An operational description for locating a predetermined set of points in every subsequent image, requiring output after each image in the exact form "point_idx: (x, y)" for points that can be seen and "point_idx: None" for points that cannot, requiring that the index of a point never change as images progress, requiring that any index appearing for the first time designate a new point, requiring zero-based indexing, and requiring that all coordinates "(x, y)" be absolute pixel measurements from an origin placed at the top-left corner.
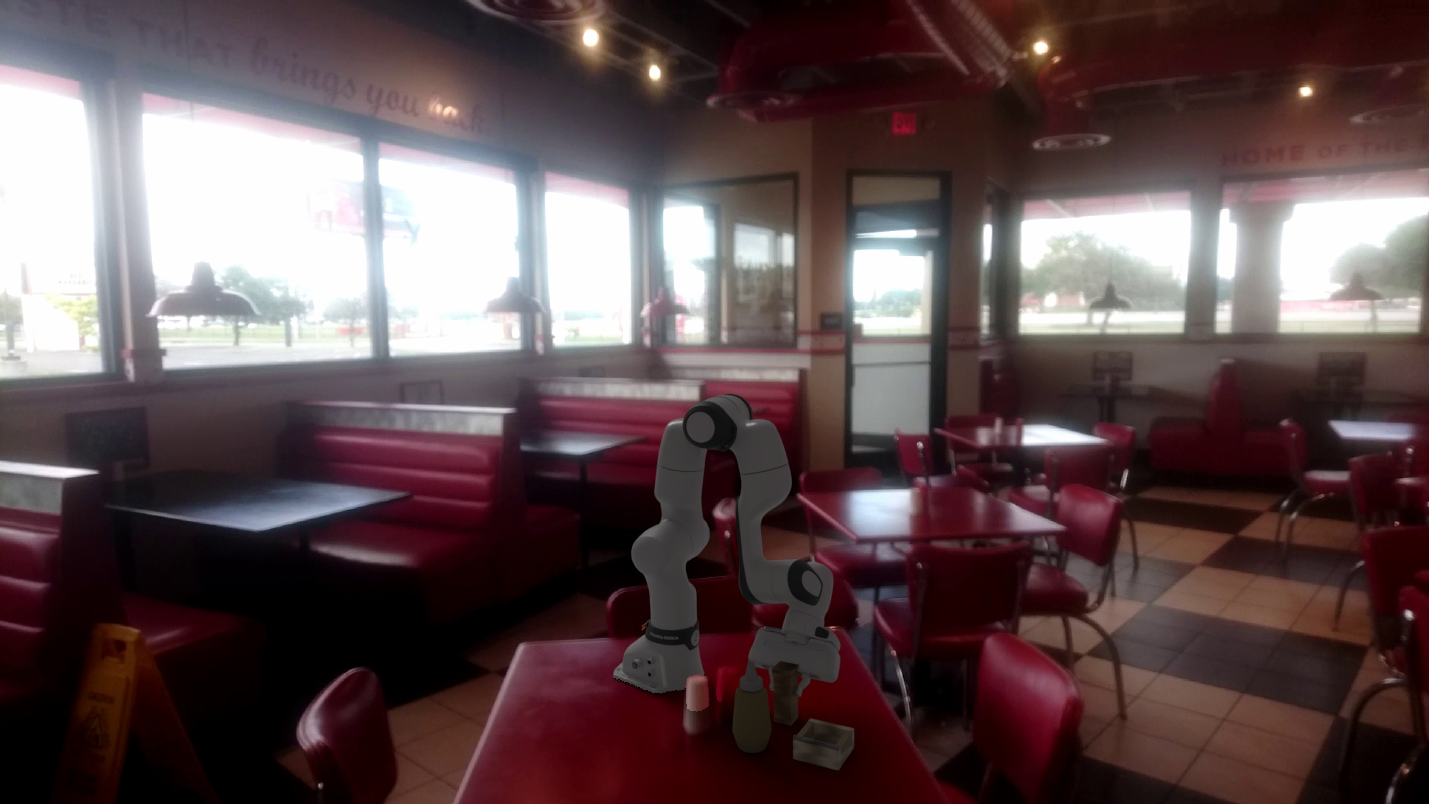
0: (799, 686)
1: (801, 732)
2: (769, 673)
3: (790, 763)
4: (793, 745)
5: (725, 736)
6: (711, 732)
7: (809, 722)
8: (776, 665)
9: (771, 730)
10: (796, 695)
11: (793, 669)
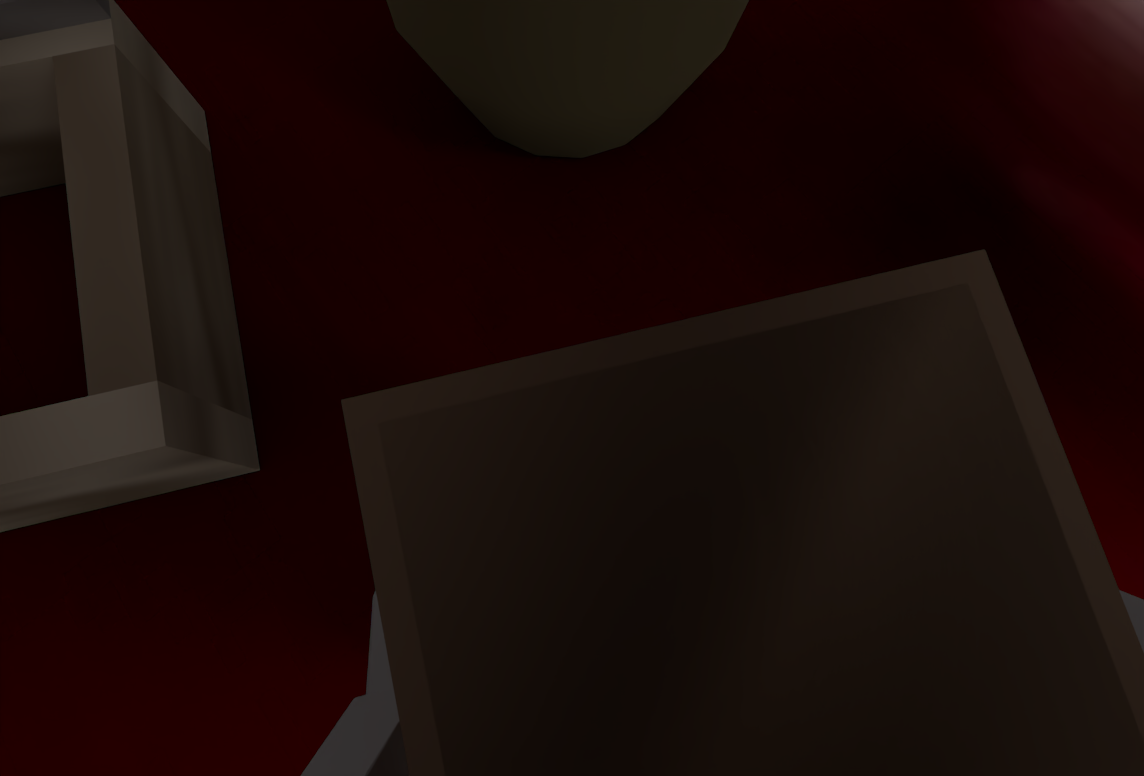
0: (385, 679)
1: (101, 142)
2: (1125, 597)
3: (192, 57)
4: (136, 33)
5: (822, 46)
6: (944, 25)
7: (128, 361)
8: (1062, 532)
9: (393, 19)
10: None
11: (410, 659)
